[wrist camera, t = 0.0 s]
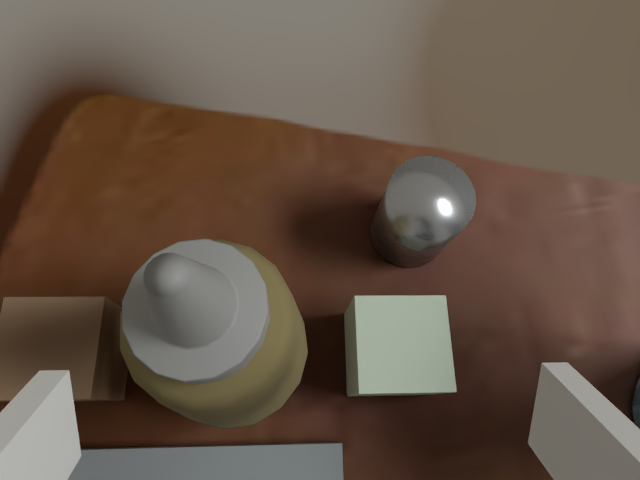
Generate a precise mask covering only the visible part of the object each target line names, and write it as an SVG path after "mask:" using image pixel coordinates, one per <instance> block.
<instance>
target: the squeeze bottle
mask: <svg viewBox="0 0 640 480" xmlns="http://www.w3.org/2000/svg"><path fill="white" fill-rule="evenodd" d="M120 351H121V353H122V356H123V358H124V360H125V362H126V365H127V367H128V369H129V371H130V374H131V376H132V378H133V380H134V382H135V383H137V384H138V385H139V386H140V387H141V388H142V389H143V390H145V391H146V392H147V393H148V394H149V395H150V396H152V397H153V398H154V399H155V400H156V401H157V402H159V403H160V404H161V405H163V406H165V407H167V408H169V409H171V410H173V411H175V412H177V413H179V414H181V415H182V416H184V417H186V418H188V419H190V420H192V421H195V422H199V423H203V424H206V425H210V426H213V427H217V428H220V429H227V428H233V427H240V426H247V425H254V424H256V423H257V422H259V421H260V420H262V419H264V418H265V417H267V416H269V415H270V414H272V413H274V412H275V411H277V410H278V409H280V408H282V406H283V405H284V403H285V402H286V401H287V399H288V398H289V397H290V395H291V394H292V393H293V391H294V390H295V389H296V387H297V386H298V385H299V383H300V381H301V377H302V374H303V370H304V366H305V362H306V358H307V355H308V349H307V341H306V333H305V325H304V322H303V319H302V317H301V314H300V312H299V310H298V307H297V305H296V303H295V300H294V298H293V296H292V293H291V292H290V290H289V288H288V286H287V285H286V283H285V281H284V279H283V278H282V276H281V274H280V272H279V271H278V269H277V267H276V266H275V265H274V264H272V263H271V262H270V261H268V260H267V259H266V258H264V257H263V256H262V255H260V254H259V253H258V252H256V251H255V250H254V249H253V248H251V247H248V246H244V245H241V244H237V243H233V242H230V241H226V240H222V239H215V240H210V239H197V240H188V241H179V242H177V243H175V244H173V245H170V246H168V247H166V248H164V249H162V250H160V251H158V252H156V253H154V254H153V255H152V256H151V257H150V258H149V259H148V260H147V261H146V262H145V263H144V264H143V265H142V266H141V267H140V268H139V269H138V270H137V271H136V272H135V274H134V275H133V277H132V279H131V281H130V284H129V286H128V289H127V291H126V293H125V296H124V298H123V300H122V311H121V313H120Z"/></svg>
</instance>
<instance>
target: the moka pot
mask: <svg viewBox="0 0 640 480" xmlns="http://www.w3.org/2000/svg"><path fill="white" fill-rule="evenodd" d="M632 402H633V408H632V411H633V417H634V422H635V425H636V426H637V427H638V428H639V429H640V377H639V380H638V383H637V386H636V389H635V392H634V399H633V401H632Z"/></svg>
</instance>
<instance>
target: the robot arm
mask: <svg viewBox="0 0 640 480" xmlns="http://www.w3.org/2000/svg"><path fill="white" fill-rule="evenodd" d="M528 444H529V446H530V447H531V449H532V450H533V451H534V453H535V454H536V456H537V457H538V458H539V460H540V461H541V463H542V464H543V466H544V467H545V468H546V470H547V471H548V473H549V474H550V475H551V477H552V478H553V480H640V429H639V428H638V427H637V426H636V425H635V424H634V423H633V422H632V421H630V420H629V419H628V418H627V417H626V416H625V415H624V414H623V413H622V412H621V411H620V410H618V409H617V408H616V407H615V406H614V405H613V404H612V403H611V402H610V401H609V400H608V399H607V398H605V397H604V396H603V395H602V394H601V393H600V392H599V391H598V390H597V389H596V388H595V387H594V386H592V385H591V384H590V383H589V382H588V381H587V380H586V379H585V378H584V377H583V376H582V375H581V374H579V373H578V372H577V371H576V370H575V369H574V368H573V367H572V366H571V365H570V364H569V363H568V362H559V363H542V364H541V370H540V376H539V382H538V387H537V393H536V399H535V404H534V410H533V416H532V422H531V427H530V433H529V439H528ZM80 457H81V449H80V442H79V435H78V428H77V421H76V414H75V407H74V400H73V393H72V386H71V379H70V372H69V370H44V371H39V372H38V373H37V374H36V375H35V376H34V377H33V378H32V379H31V380H30V381H29V382H28V383H27V384H26V385H25V387H24V388H23V389H22V390H21V391H20V392H19V393H18V394H17V395H16V396H15V397H14V398H13V399H12V400H11V402H10V403H9V404H8V405H7V406H6V407H5V408H4V409H3V410H2V411H1V412H0V480H67V479H68V478H69V476H70V474H71V473H72V471H73V469H74V468H75V466H76V464H77V463H78V461H79V459H80Z"/></svg>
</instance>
